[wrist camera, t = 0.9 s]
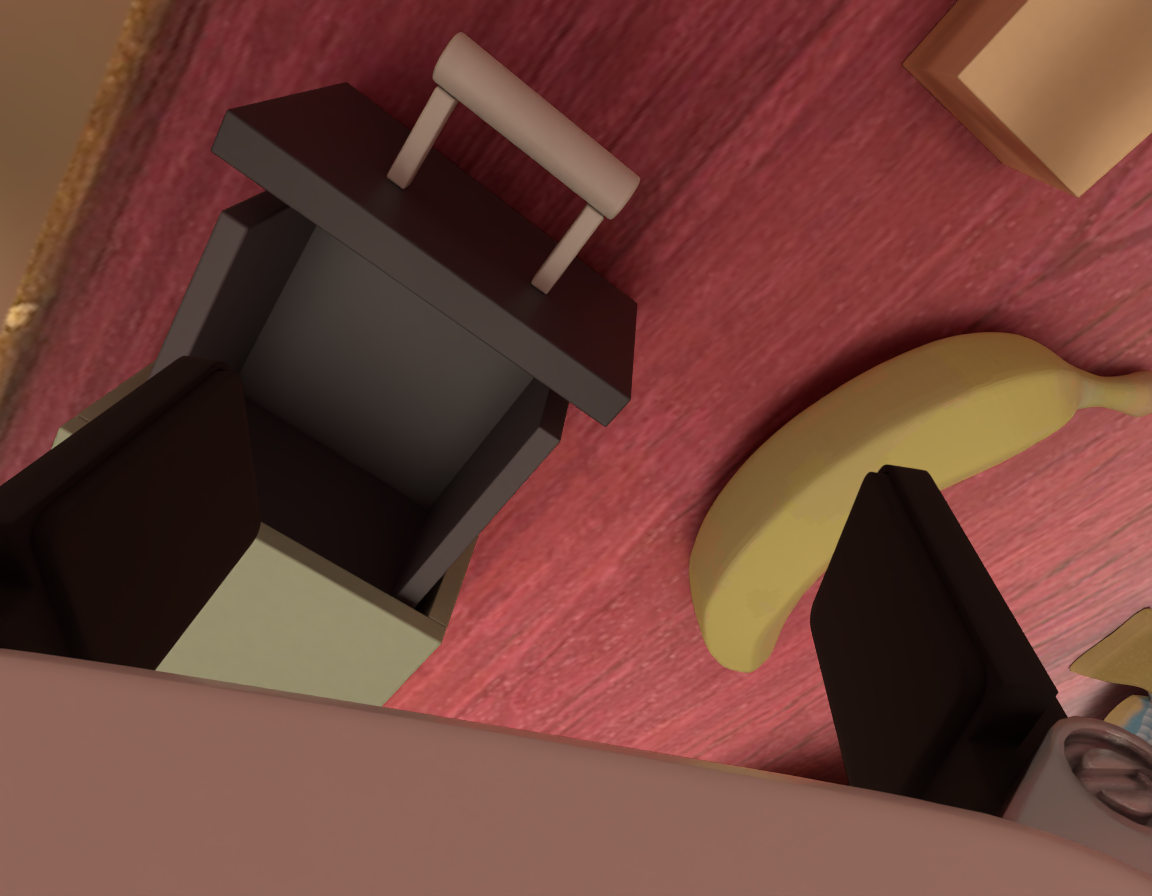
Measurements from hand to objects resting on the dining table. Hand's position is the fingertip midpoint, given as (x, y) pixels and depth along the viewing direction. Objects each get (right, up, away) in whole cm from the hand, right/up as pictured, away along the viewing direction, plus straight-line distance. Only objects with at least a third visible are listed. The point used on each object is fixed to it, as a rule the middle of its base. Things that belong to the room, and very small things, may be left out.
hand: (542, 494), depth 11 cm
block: (+14, +13, +11) cm, 23 cm away
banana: (+14, -1, +20) cm, 25 cm away
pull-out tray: (-5, +7, +17) cm, 18 cm away
